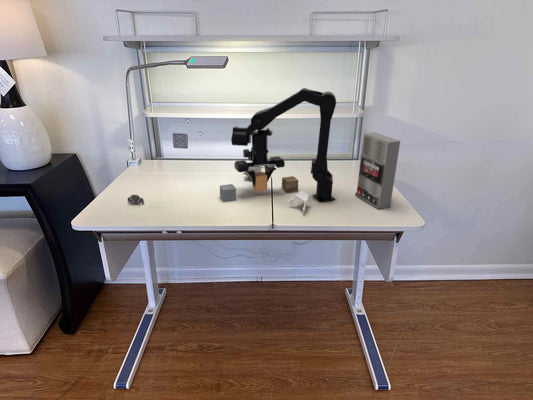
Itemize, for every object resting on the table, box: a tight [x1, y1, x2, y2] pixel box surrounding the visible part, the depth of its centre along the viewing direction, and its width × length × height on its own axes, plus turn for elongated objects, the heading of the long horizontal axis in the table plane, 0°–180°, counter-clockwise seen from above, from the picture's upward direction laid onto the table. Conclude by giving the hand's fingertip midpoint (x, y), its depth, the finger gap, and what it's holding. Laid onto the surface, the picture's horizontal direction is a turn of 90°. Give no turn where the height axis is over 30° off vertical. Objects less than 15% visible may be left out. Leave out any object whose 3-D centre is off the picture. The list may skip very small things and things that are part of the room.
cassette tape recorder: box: [354, 132, 401, 210], centre depth 138 cm, size 14×6×25 cm, turn 24°
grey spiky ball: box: [242, 166, 264, 179], centre depth 163 cm, size 9×8×10 cm
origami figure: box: [288, 190, 313, 215], centre depth 136 cm, size 12×8×5 cm
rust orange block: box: [251, 171, 268, 192], centre depth 147 cm, size 4×4×6 cm
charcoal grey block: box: [219, 183, 237, 203], centre depth 144 cm, size 5×5×5 cm
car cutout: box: [127, 194, 145, 207], centre depth 138 cm, size 15×7×4 cm, turn 83°
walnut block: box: [281, 175, 299, 194], centre depth 152 cm, size 5×5×5 cm
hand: (259, 184), depth 147 cm, fingers closed on rust orange block, 4 cm apart
